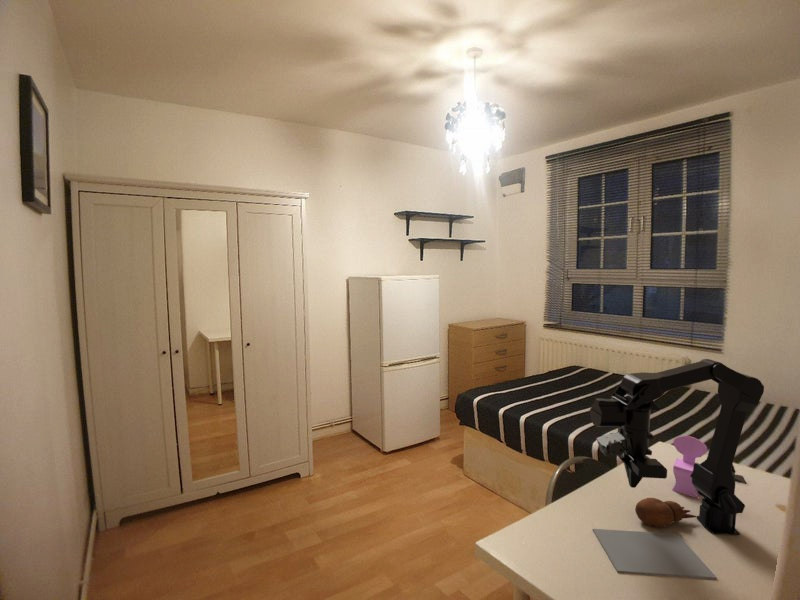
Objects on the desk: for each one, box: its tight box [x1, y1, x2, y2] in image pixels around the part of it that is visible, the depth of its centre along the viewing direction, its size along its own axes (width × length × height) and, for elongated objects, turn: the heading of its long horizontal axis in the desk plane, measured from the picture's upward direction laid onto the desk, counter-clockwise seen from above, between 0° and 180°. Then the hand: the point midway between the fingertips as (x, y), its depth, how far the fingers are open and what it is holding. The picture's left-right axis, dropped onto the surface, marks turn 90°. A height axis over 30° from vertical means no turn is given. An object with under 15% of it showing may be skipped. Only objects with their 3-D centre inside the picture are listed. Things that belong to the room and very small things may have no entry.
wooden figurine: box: [635, 497, 698, 528], centre depth 105 cm, size 7×6×15 cm
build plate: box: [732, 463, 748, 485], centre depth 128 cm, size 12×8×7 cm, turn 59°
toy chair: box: [671, 435, 708, 499], centre depth 120 cm, size 8×9×15 cm
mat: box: [592, 528, 718, 580], centre depth 93 cm, size 20×14×1 cm
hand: (632, 486), depth 102 cm, fingers closed
